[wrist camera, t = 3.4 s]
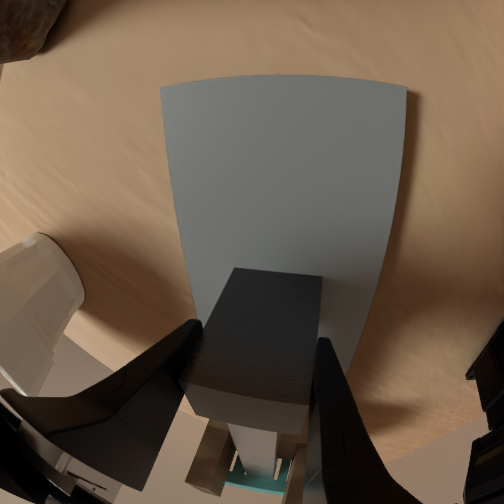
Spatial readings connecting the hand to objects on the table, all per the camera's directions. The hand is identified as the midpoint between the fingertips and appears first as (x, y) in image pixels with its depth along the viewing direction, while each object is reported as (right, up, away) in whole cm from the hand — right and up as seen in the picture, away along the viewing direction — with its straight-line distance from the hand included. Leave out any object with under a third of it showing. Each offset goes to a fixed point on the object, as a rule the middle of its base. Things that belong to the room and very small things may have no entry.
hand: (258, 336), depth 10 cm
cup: (-19, +1, +11) cm, 22 cm away
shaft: (+2, -8, +10) cm, 12 cm away
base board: (+2, -4, +8) cm, 9 cm away
